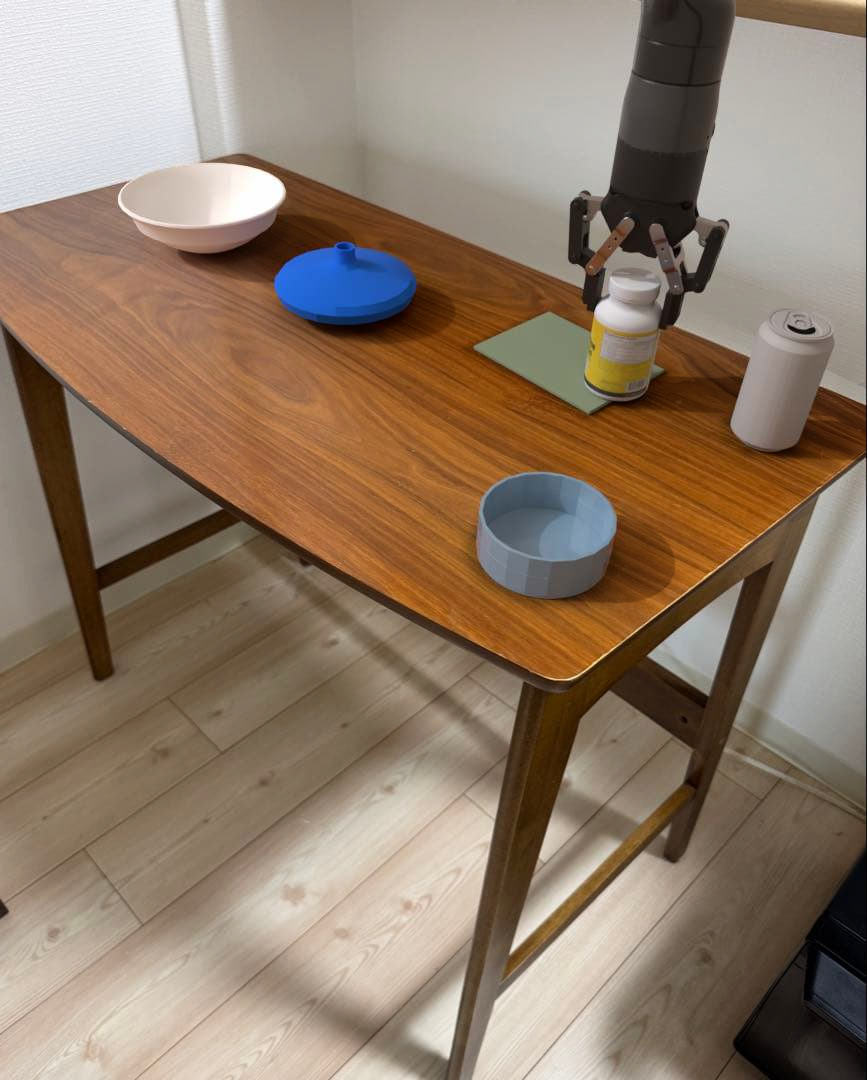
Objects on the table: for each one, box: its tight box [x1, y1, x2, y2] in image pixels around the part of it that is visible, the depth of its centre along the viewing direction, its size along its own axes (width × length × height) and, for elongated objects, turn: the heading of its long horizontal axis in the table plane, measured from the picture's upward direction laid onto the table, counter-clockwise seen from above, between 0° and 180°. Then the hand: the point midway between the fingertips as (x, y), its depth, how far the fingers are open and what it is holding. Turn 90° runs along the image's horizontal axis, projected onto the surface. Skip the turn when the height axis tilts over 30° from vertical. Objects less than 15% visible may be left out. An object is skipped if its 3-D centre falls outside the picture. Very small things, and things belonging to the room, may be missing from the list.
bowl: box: [117, 162, 287, 254], centre depth 111 cm, size 20×20×6 cm
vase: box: [273, 241, 418, 326], centre depth 99 cm, size 16×16×7 cm
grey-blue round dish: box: [475, 471, 618, 600], centre depth 71 cm, size 11×11×4 cm
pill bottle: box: [584, 266, 663, 402], centre depth 87 cm, size 6×6×12 cm
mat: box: [473, 310, 665, 415], centre depth 94 cm, size 16×12×1 cm
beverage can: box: [730, 307, 836, 453], centre depth 82 cm, size 6×6×12 cm
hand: (628, 316), depth 85 cm, fingers closed on pill bottle, 6 cm apart
